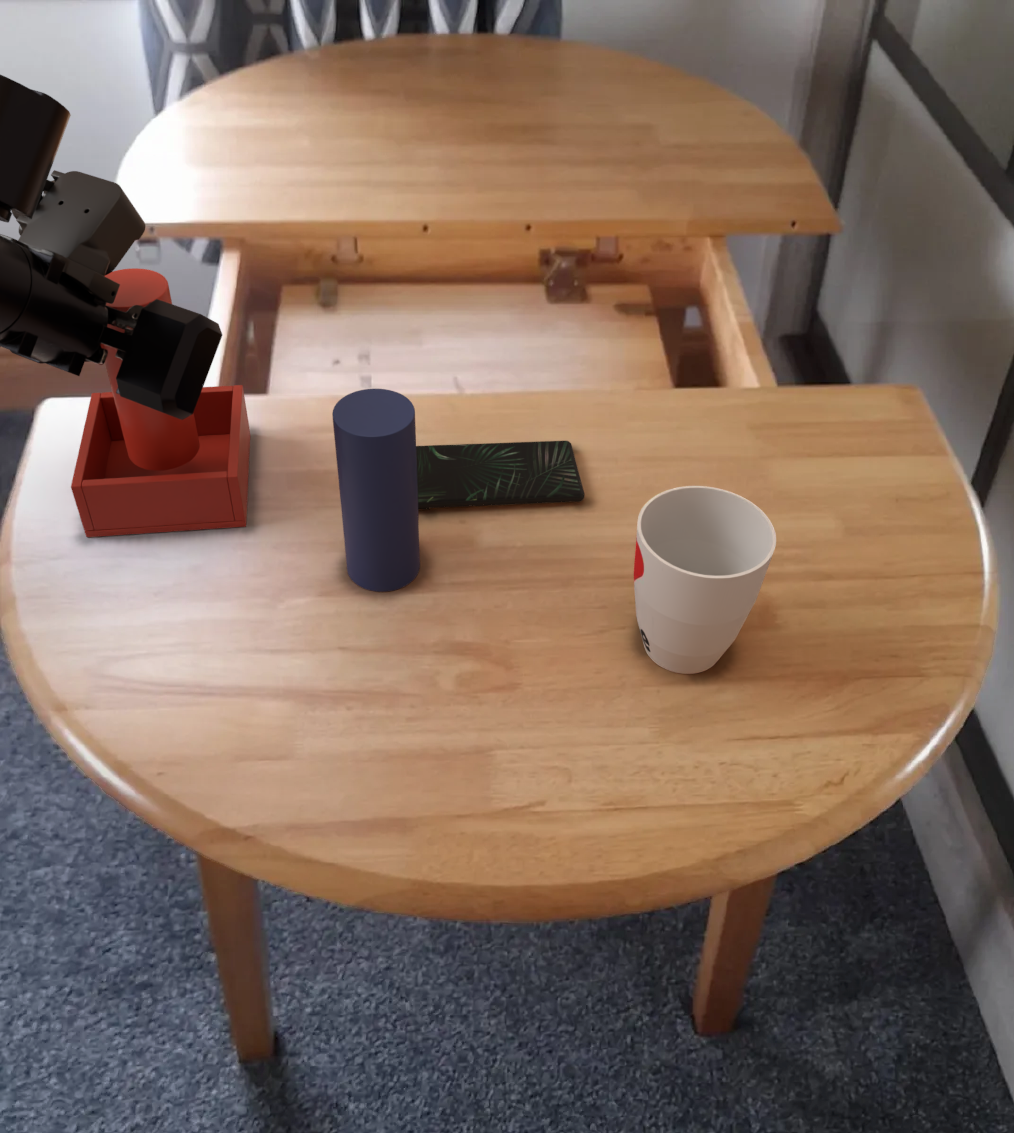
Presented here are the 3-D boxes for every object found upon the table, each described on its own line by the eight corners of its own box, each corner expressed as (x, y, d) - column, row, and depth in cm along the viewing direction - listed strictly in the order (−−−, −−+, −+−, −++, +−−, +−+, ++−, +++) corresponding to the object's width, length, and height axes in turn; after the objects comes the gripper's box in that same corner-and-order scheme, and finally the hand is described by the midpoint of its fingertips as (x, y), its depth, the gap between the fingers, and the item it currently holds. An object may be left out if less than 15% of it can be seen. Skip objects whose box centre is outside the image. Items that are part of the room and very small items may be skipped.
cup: (652, 584, 76) (672, 469, 69) (764, 630, 73) (796, 516, 67) (598, 659, 71) (613, 543, 64) (716, 712, 68) (745, 597, 61)
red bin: (86, 537, 78) (70, 486, 75) (104, 442, 86) (91, 392, 83) (246, 526, 79) (237, 476, 76) (250, 433, 87) (242, 384, 84)
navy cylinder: (334, 581, 76) (318, 425, 67) (365, 535, 79) (353, 381, 70) (403, 599, 75) (395, 444, 66) (430, 552, 78) (427, 398, 69)
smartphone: (585, 495, 81) (379, 504, 80) (584, 505, 82) (379, 514, 80) (570, 438, 86) (375, 445, 85) (569, 448, 87) (376, 456, 85)
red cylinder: (143, 479, 78) (103, 315, 69) (117, 442, 81) (76, 280, 72) (211, 456, 80) (180, 293, 71) (183, 421, 83) (150, 260, 74)
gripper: (172, 190, 59) (313, 288, 73) (-79, 114, 65) (98, 219, 80) (98, 389, 59) (254, 447, 74) (-145, 294, 65) (43, 365, 80)
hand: (160, 362), depth 77 cm, fingers closed on red cylinder, 5 cm apart
